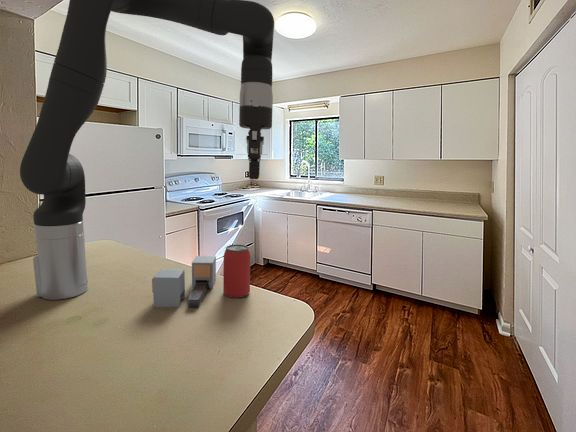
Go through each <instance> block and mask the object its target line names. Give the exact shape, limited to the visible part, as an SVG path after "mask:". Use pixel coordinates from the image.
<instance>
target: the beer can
mask: <svg viewBox="0 0 576 432" xmlns="http://www.w3.org/2000/svg"><path fill="white" fill-rule="evenodd" d="M251 259H252V258H251V254H250V250H249V246H247V245H245V244H229V245H227V246H225V250H224V254H223V278H222V279H223V283H222V284H223V285H222V286H223V287H222V288H223V294H224V295H225V296H226V297H229V298H231V299H232V298H233V299H234V298H235V299H238V298H239V299H240V298H244V297H246V296H247V295H248V294H249V293H250V292H251Z"/></svg>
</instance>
